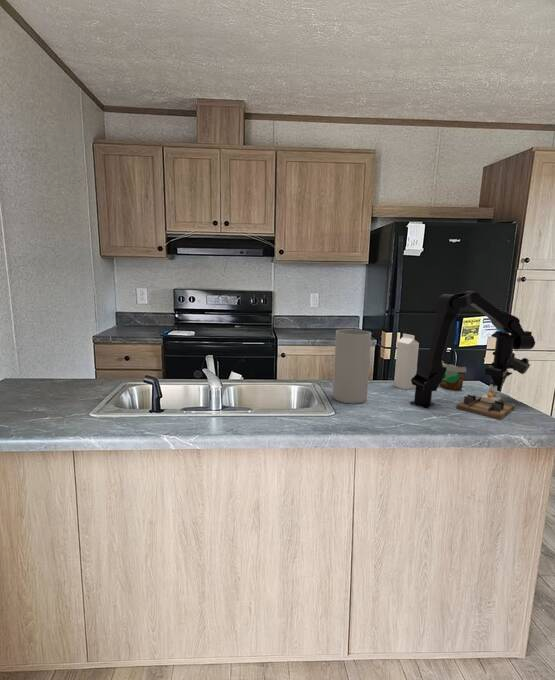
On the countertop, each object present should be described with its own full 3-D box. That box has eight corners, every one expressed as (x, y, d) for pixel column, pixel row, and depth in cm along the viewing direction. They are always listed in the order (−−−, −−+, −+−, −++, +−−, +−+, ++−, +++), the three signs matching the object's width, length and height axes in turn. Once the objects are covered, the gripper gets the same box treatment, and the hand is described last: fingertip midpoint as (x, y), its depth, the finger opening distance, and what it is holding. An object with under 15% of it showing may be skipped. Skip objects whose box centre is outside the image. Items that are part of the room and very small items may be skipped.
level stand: (499, 419, 129) (501, 408, 128) (456, 408, 139) (457, 397, 138) (514, 408, 140) (516, 397, 139) (473, 399, 150) (474, 388, 149)
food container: (429, 384, 168) (431, 361, 166) (440, 383, 170) (442, 360, 169) (453, 392, 157) (456, 368, 155) (464, 391, 159) (467, 367, 158)
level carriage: (495, 404, 139) (497, 388, 138) (480, 400, 142) (482, 385, 141) (500, 401, 142) (502, 386, 141) (485, 397, 146) (487, 383, 145)
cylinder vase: (373, 399, 146) (378, 332, 142) (352, 406, 138) (357, 336, 133) (346, 391, 155) (350, 328, 151) (325, 397, 147) (328, 331, 143)
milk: (404, 390, 159) (409, 336, 155) (393, 386, 164) (397, 333, 160) (415, 388, 162) (419, 335, 158) (404, 384, 167) (408, 332, 163)
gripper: (521, 357, 133) (515, 401, 135) (536, 350, 145) (530, 391, 148) (485, 351, 140) (480, 393, 143) (502, 345, 153) (497, 384, 156)
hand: (498, 390), depth 147 cm, fingers closed
